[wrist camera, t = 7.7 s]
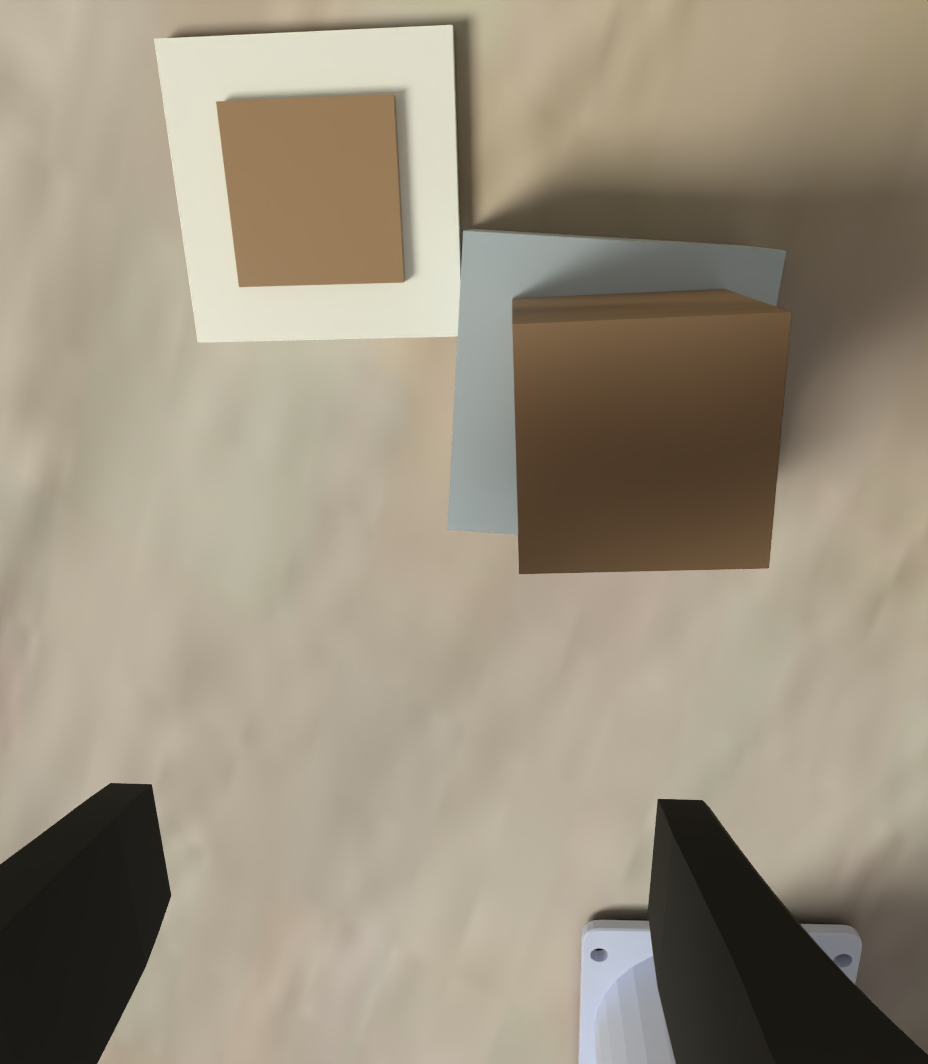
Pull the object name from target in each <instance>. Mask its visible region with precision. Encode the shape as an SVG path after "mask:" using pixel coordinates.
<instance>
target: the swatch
mask: <svg viewBox="0 0 928 1064" xmlns="http://www.w3.org/2000/svg"><path fill="white" fill-rule="evenodd" d="M154 42H155V49H156V56H157V62H158V69H159V76H160V83H161V90H162V97H163V104H164V111H165V118H166V125H167V132H168V139H169V146H170V153H171V160H172V167H173V174H174V181H175V188H176V195H177V201H178V208H179V215H180V222H181V229H182V236H183V243H184V250H185V257H186V264H187V271H188V278H189V285H190V292H191V299H192V306H193V313H194V320H195V327H196V334H197V341H198V342H240V341H283V340H325V339H368V338H410V337H453V336H458V319H459V300H460V281H461V248H460V215H459V182H458V149H457V116H456V83H455V51H454V28H453V25H437V26H416V27H395V28H373V29H352V30H331V31H310V32H288V33H267V34H246V35H225V36H204V37H182V38H161V39H154Z"/></svg>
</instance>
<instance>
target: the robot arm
mask: <svg viewBox="0 0 928 1064" xmlns="http://www.w3.org/2000/svg"><path fill="white" fill-rule="evenodd" d="M170 898H171V892H170V886H169V880H168V875H167V869H166V863H165V858H164V852H163V846H162V841H161V835H160V829H159V823H158V818H157V812H156V806H155V801H154V795H153V789H152V784H121V783H110V784H109V785H107V786H106V787H104V788H103V789H101V790H100V791H99V792H97V793H96V794H94V795H93V796H92V797H90V798H89V799H87V800H86V801H85V802H83V803H82V804H81V805H79V806H78V807H77V808H75V809H74V810H73V811H71V812H70V813H69V814H67V815H66V816H65V817H63V818H62V819H61V820H59V821H58V822H57V823H55V824H54V825H53V826H51V827H50V828H49V829H47V830H46V831H45V832H43V833H42V834H41V835H39V836H38V837H37V838H35V839H34V840H33V841H31V842H30V843H29V844H27V845H26V846H25V847H23V848H22V849H21V850H19V851H18V852H17V853H15V854H14V855H12V856H11V857H10V858H8V859H7V860H6V861H4V862H3V863H2V864H0V1064H97V1063H98V1061H99V1059H100V1057H101V1055H102V1053H103V1051H104V1049H105V1047H106V1045H107V1043H108V1041H109V1039H110V1037H111V1036H112V1034H113V1032H114V1030H115V1028H116V1026H117V1024H118V1022H119V1020H120V1018H121V1016H122V1014H123V1012H124V1010H125V1008H126V1006H127V1004H128V1002H129V1000H130V998H131V996H132V994H133V992H134V990H135V988H136V986H137V983H138V981H139V979H140V977H141V975H142V973H143V971H144V969H145V967H146V964H147V962H148V959H149V956H150V954H151V951H152V949H153V946H154V943H155V941H156V938H157V935H158V932H159V930H160V927H161V924H162V921H163V918H164V915H165V912H166V909H167V906H168V903H169V901H170ZM648 919H649V921H635V920H593V921H591V922H589V923H587V924H586V925H585V926H584V927H583V929H582V938H581V976H580V1013H579V1051H578V1064H928V1055H927V1054H926V1053H925V1052H924V1051H923V1050H922V1049H921V1048H920V1047H918V1046H917V1045H916V1044H915V1043H914V1042H913V1041H912V1040H911V1039H910V1038H909V1037H908V1036H907V1035H906V1034H905V1033H904V1032H903V1031H902V1030H900V1029H899V1028H898V1027H897V1026H896V1025H895V1024H894V1023H893V1022H892V1021H891V1020H890V1019H889V1018H888V1017H887V1016H886V1015H885V1014H884V1013H883V1012H882V1011H881V1010H880V1009H879V1008H878V1007H877V1006H876V1005H875V1004H874V1003H873V1002H872V1001H871V1000H870V999H869V998H868V997H867V996H866V995H865V994H864V993H863V992H862V991H861V990H860V989H859V988H858V987H857V986H856V985H855V983H856V978H857V973H858V967H859V962H860V957H861V951H862V941H861V939H860V937H859V935H858V933H857V931H856V930H855V929H854V928H852V927H851V926H847V925H831V924H800V923H799V922H798V921H797V920H796V918H795V917H794V916H793V915H792V914H791V913H790V911H789V910H788V909H787V908H786V907H785V905H784V904H783V903H782V902H781V901H780V899H779V898H778V897H777V896H776V895H775V893H774V892H773V891H772V890H771V888H770V887H769V886H768V885H767V883H766V882H765V881H764V880H763V878H762V877H761V876H760V875H759V873H758V872H757V871H756V870H755V868H754V867H753V866H752V864H751V863H750V862H749V860H748V859H747V858H746V857H745V855H744V854H743V853H742V851H741V850H740V849H739V847H738V846H737V845H736V843H735V842H734V841H733V839H732V838H731V837H730V835H729V834H728V832H727V831H726V830H725V828H724V827H723V826H722V824H721V823H720V821H719V820H718V819H717V817H716V816H715V814H714V813H713V812H712V810H711V809H710V808H709V806H708V805H707V804H706V803H705V802H704V801H703V800H676V799H658V803H657V814H656V826H655V837H654V849H653V860H652V871H651V883H650V894H649V905H648ZM598 948H600V949H603V950H599V951H596V950H594V949H598ZM840 954H843V955H841V956H838V955H840Z"/></svg>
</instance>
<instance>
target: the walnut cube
mask: <svg viewBox="0 0 928 1064" xmlns="http://www.w3.org/2000/svg"><path fill="white" fill-rule="evenodd" d="M791 314H792V312H790V311H787V310H784V309H781V308H778V307H776V306H773V305H770V304H767V303H764V302H761V301H758V300H756V299H753V298H750V297H747V296H744V295H741V294H738V293H736V292H733V291H730V290H727V289H709V290H687V291H665V292H643V293H621V294H599V295H577V296H555V297H533V298H512V331H513V367H514V404H515V440H516V476H517V512H518V549H519V574H541V573H584V572H628V571H671V570H715V569H759V568H769V561H770V550H771V539H772V528H773V516H774V505H775V494H776V483H777V471H778V460H779V449H780V438H781V426H782V415H783V404H784V393H785V381H786V370H787V359H788V348H789V336H790V325H791Z"/></svg>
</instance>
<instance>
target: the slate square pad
mask: <svg viewBox="0 0 928 1064" xmlns="http://www.w3.org/2000/svg"><path fill="white" fill-rule="evenodd" d="M786 251H787V250H779V249H772V248H764V247H756V246H749V245H732V244H716V243H699V242H683V241H666V240H650V239H634V238H617V237H601V236H584V235H568V234H551V233H535V232H518V231H502V230H485V229H467V230H464V231H463V243H462V262H461V281H460V300H459V319H458V338H457V357H456V376H455V395H454V414H453V434H452V453H451V472H450V491H449V510H448V529H447V530H458V531H472V532H486V533H500V534H514V535H518V512H517V476H516V440H515V404H514V367H513V331H512V298H533V297H555V296H577V295H599V294H621V293H643V292H665V291H687V290H709V289H727V290H730V291H733V292H736V293H738V294H741V295H744V296H747V297H750V298H753V299H756V300H758V301H761V302H764V303H767V304H770V305H773V306H776V305H777V300H778V295H779V289H780V284H781V278H782V273H783V268H784V262H785V257H786Z"/></svg>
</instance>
